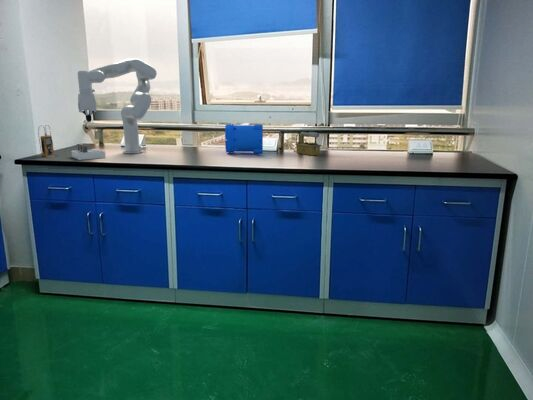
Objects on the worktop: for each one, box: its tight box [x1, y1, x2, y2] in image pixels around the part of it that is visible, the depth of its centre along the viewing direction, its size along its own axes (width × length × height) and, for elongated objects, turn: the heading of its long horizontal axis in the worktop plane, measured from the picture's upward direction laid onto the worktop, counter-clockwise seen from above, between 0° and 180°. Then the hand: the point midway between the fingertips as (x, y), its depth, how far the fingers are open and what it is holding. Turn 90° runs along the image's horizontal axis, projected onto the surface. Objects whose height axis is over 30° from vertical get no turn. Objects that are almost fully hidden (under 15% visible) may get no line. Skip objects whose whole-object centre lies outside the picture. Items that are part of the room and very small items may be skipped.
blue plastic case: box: [224, 123, 264, 154], centre depth 305 cm, size 25×22×19 cm
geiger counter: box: [292, 131, 323, 156], centre depth 303 cm, size 9×26×15 cm, turn 37°
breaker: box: [82, 145, 88, 152], centre depth 275 cm, size 2×2×4 cm
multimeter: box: [37, 125, 59, 159], centre depth 285 cm, size 15×10×20 cm
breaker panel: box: [71, 148, 106, 161], centre depth 283 cm, size 16×16×4 cm
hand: (89, 121), depth 279 cm, fingers closed
